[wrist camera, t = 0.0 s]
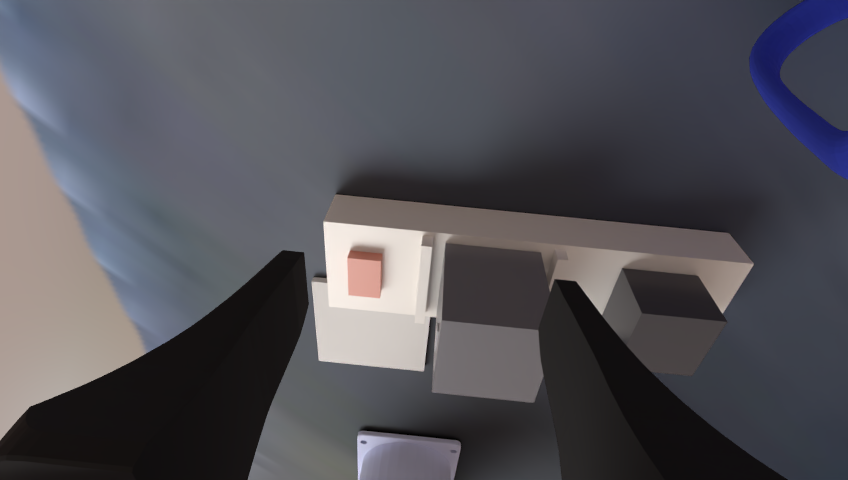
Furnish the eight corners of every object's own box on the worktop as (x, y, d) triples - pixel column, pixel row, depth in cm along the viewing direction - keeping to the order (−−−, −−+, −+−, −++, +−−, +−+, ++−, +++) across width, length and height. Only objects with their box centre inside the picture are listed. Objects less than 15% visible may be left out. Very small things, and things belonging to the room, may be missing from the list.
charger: (521, 320, 24) (533, 402, 20) (435, 311, 24) (430, 392, 20) (540, 252, 22) (559, 332, 18) (444, 242, 22) (439, 320, 18)
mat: (424, 366, 31) (423, 371, 31) (320, 356, 31) (318, 360, 31) (433, 288, 27) (432, 293, 27) (313, 276, 27) (311, 281, 27)
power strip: (684, 310, 27) (729, 393, 22) (338, 276, 27) (314, 350, 22) (729, 232, 23) (792, 311, 19) (335, 194, 24) (305, 262, 19)
